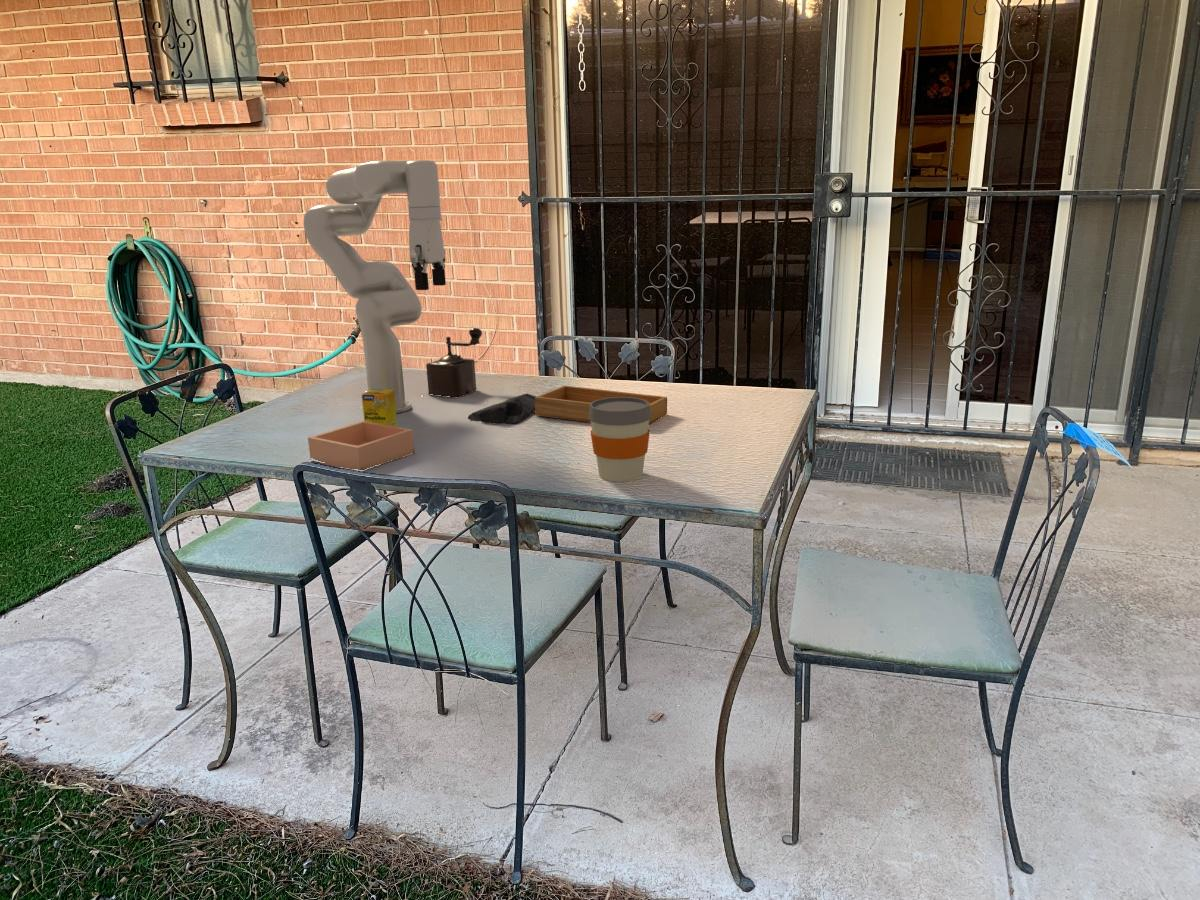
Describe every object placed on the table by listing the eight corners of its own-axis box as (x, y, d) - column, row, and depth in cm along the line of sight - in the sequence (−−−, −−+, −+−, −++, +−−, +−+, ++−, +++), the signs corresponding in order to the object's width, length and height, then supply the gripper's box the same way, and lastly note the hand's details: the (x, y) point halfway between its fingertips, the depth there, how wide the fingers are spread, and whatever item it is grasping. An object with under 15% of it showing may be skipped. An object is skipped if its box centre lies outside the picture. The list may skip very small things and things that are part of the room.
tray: (667, 416, 226) (667, 395, 224) (642, 431, 213) (641, 408, 211) (564, 405, 240) (563, 385, 238) (535, 418, 227) (534, 397, 225)
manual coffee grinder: (459, 398, 249) (455, 335, 243) (427, 395, 253) (422, 333, 248) (488, 386, 262) (484, 327, 257) (457, 384, 266) (453, 325, 261)
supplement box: (365, 438, 211) (360, 394, 208) (375, 431, 217) (371, 388, 213) (388, 438, 210) (384, 394, 207) (398, 432, 216) (394, 388, 212)
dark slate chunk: (554, 407, 238) (554, 390, 236) (514, 427, 219) (513, 409, 217) (506, 402, 244) (505, 386, 243) (462, 422, 225) (461, 404, 224)
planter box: (310, 461, 194) (307, 437, 192) (365, 443, 207) (363, 420, 205) (360, 472, 185) (357, 447, 184) (414, 453, 198) (412, 429, 196)
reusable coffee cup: (600, 463, 187) (598, 395, 183) (657, 467, 184) (657, 398, 179) (582, 482, 176) (580, 410, 172) (643, 486, 172) (642, 413, 168)
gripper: (426, 213, 217) (432, 283, 222) (393, 216, 201) (400, 291, 206) (454, 213, 215) (459, 283, 220) (423, 216, 199) (430, 291, 204)
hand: (431, 287), depth 213 cm, fingers open, 9 cm apart
